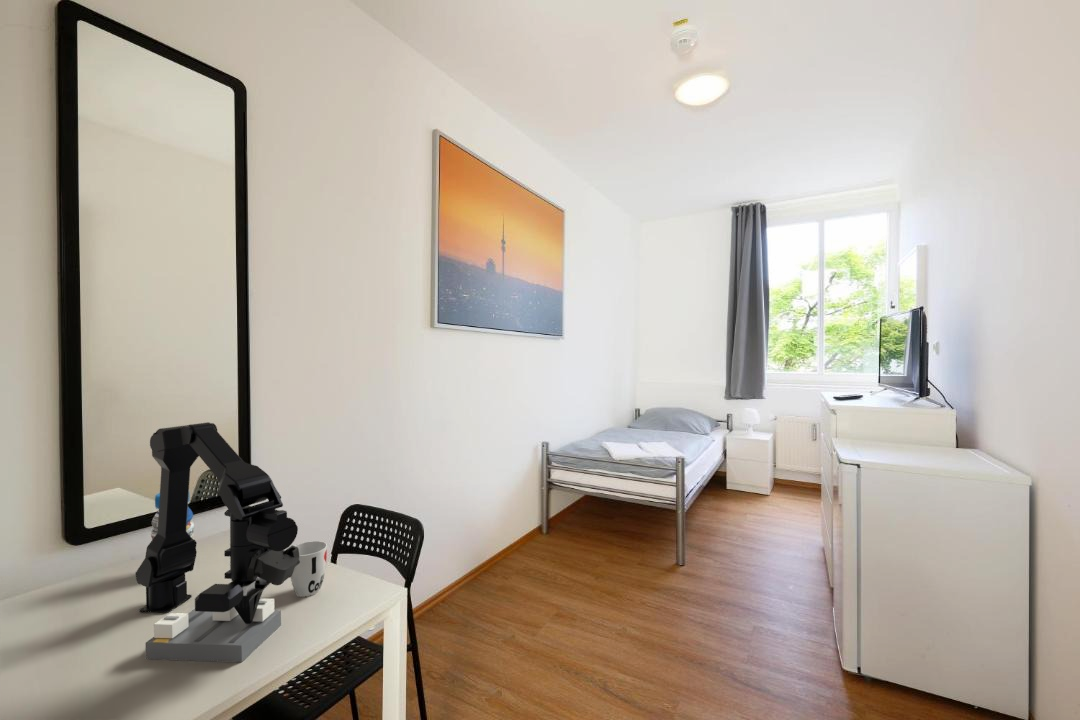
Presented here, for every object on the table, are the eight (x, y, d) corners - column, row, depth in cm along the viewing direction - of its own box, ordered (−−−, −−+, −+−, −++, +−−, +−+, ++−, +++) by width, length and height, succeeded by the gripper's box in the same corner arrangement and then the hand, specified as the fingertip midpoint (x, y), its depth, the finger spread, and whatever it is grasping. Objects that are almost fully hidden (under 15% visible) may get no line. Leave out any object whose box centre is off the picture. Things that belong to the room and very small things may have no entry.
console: (145, 659, 81) (145, 641, 81) (196, 622, 92) (195, 607, 92) (241, 662, 80) (241, 644, 80) (281, 625, 91) (280, 609, 91)
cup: (311, 602, 99) (310, 557, 99) (279, 598, 101) (279, 554, 101) (335, 583, 107) (334, 542, 107) (305, 580, 109) (304, 539, 109)
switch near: (154, 637, 82) (153, 622, 82) (170, 626, 85) (170, 611, 85) (172, 638, 81) (172, 623, 81) (188, 626, 85) (188, 611, 85)
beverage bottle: (158, 567, 116) (157, 490, 116) (198, 560, 120) (197, 486, 120) (146, 582, 109) (144, 499, 108) (189, 574, 112) (188, 494, 112)
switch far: (245, 621, 87) (245, 606, 87) (257, 610, 90) (257, 596, 90) (262, 621, 86) (262, 607, 86) (274, 611, 90) (274, 597, 90)
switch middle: (212, 620, 87) (212, 606, 87) (226, 610, 90) (226, 596, 90) (229, 620, 87) (229, 606, 87) (242, 610, 90) (242, 596, 90)
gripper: (254, 564, 75) (255, 657, 75) (316, 523, 94) (317, 598, 94) (191, 562, 76) (192, 654, 76) (265, 522, 95) (266, 596, 95)
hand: (248, 622), depth 85 cm, fingers closed
